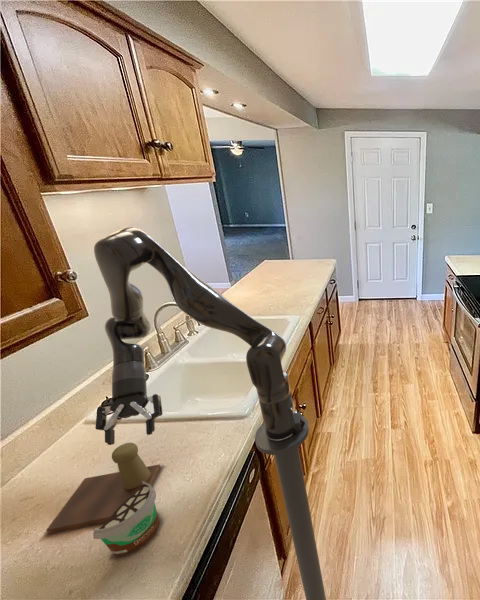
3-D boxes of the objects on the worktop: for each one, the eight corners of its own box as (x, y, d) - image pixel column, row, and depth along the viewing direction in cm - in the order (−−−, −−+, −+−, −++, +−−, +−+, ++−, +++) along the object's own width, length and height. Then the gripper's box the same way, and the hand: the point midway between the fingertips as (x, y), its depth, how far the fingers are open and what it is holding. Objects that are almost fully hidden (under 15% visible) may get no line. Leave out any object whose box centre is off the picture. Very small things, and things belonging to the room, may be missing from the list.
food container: (132, 568, 69) (115, 537, 65) (107, 562, 70) (90, 532, 66) (178, 511, 80) (166, 482, 77) (156, 507, 81) (144, 478, 78)
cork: (148, 465, 91) (136, 435, 87) (152, 479, 87) (138, 448, 83) (121, 478, 88) (106, 447, 84) (123, 493, 84) (108, 461, 79)
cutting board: (161, 468, 92) (160, 464, 92) (137, 515, 80) (135, 511, 79) (86, 482, 89) (84, 478, 88) (48, 534, 76) (46, 530, 75)
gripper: (90, 384, 88) (89, 447, 82) (154, 371, 93) (156, 430, 88) (105, 389, 94) (104, 448, 89) (163, 377, 100) (166, 432, 94)
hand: (130, 439), depth 88 cm, fingers open, 8 cm apart
